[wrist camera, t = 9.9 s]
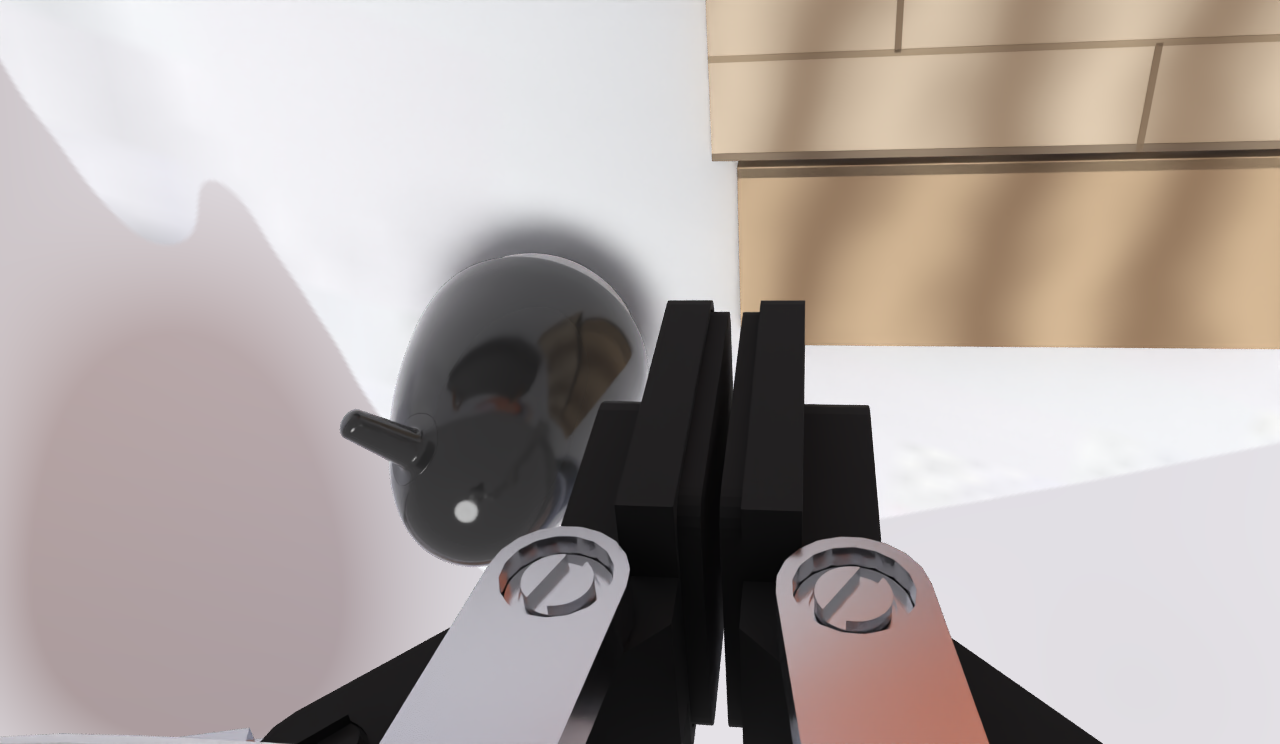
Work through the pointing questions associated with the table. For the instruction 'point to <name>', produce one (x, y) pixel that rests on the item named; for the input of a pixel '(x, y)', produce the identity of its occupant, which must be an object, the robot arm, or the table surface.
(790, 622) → the robot arm
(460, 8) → the table surface
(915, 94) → the laid boards
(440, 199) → the table surface
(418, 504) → the pump dispenser
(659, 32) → the table surface
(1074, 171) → the plank
